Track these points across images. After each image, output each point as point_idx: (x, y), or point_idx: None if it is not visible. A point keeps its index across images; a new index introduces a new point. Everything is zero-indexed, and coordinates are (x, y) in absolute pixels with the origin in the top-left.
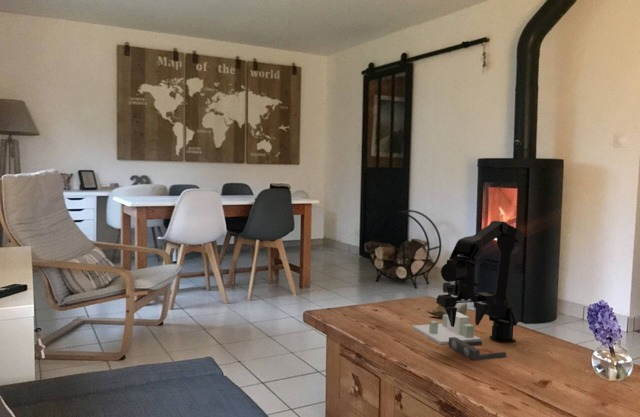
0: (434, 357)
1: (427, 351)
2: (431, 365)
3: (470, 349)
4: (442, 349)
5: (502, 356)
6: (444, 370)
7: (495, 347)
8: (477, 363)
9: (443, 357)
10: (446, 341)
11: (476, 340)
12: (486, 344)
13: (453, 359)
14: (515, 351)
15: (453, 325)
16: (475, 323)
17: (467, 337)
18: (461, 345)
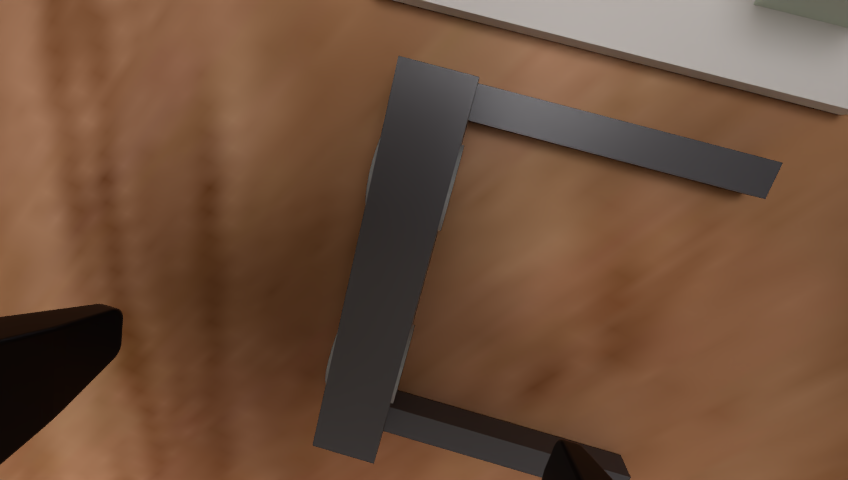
0: (124, 220)
1: (151, 85)
2: None
3: (320, 412)
4: (301, 109)
5: None
6: None
7: (772, 306)
8: None
9: (186, 253)
10: (436, 3)
11: (736, 152)
12: (789, 209)
13: (226, 317)
14: (812, 447)
15: (79, 374)
16: (563, 443)
17: (769, 6)
18: (348, 288)
